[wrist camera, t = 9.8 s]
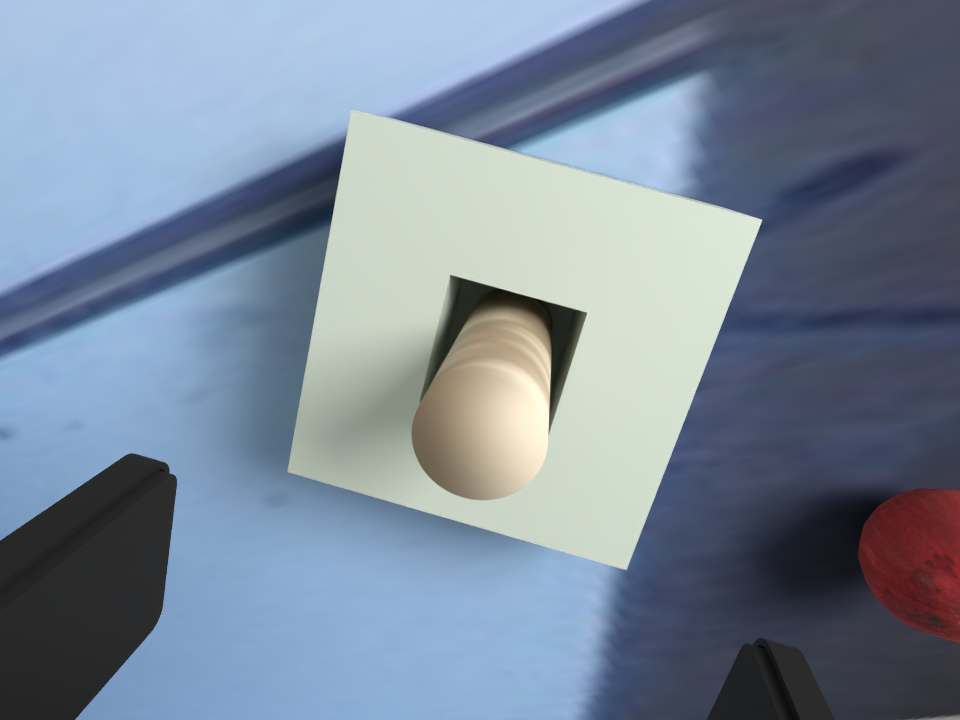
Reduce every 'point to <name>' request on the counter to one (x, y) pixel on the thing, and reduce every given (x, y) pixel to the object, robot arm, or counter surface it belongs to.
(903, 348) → the counter surface
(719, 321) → the hole block
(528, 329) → the pin
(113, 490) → the robot arm
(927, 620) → the onion
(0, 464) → the counter surface
